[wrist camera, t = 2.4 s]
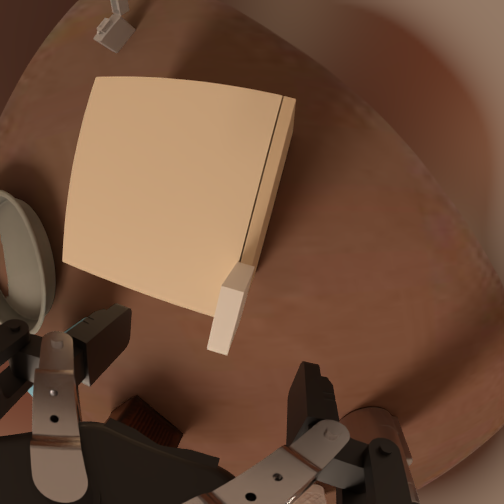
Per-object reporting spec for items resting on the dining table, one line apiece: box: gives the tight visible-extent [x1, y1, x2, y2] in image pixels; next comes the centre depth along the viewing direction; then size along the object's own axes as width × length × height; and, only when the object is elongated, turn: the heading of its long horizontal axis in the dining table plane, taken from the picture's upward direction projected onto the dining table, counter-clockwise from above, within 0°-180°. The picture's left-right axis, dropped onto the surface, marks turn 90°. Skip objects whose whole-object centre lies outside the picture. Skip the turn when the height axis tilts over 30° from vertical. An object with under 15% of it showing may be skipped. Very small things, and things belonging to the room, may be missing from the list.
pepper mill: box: [104, 396, 183, 448], centre depth 32 cm, size 16×11×18 cm
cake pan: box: [0, 190, 56, 334], centre depth 35 cm, size 25×25×4 cm
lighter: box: [94, 0, 136, 53], centre depth 23 cm, size 7×2×8 cm, turn 143°
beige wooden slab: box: [207, 96, 296, 355], centre depth 22 cm, size 1×16×17 cm, turn 166°
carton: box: [62, 77, 283, 317], centre depth 25 cm, size 15×16×12 cm
